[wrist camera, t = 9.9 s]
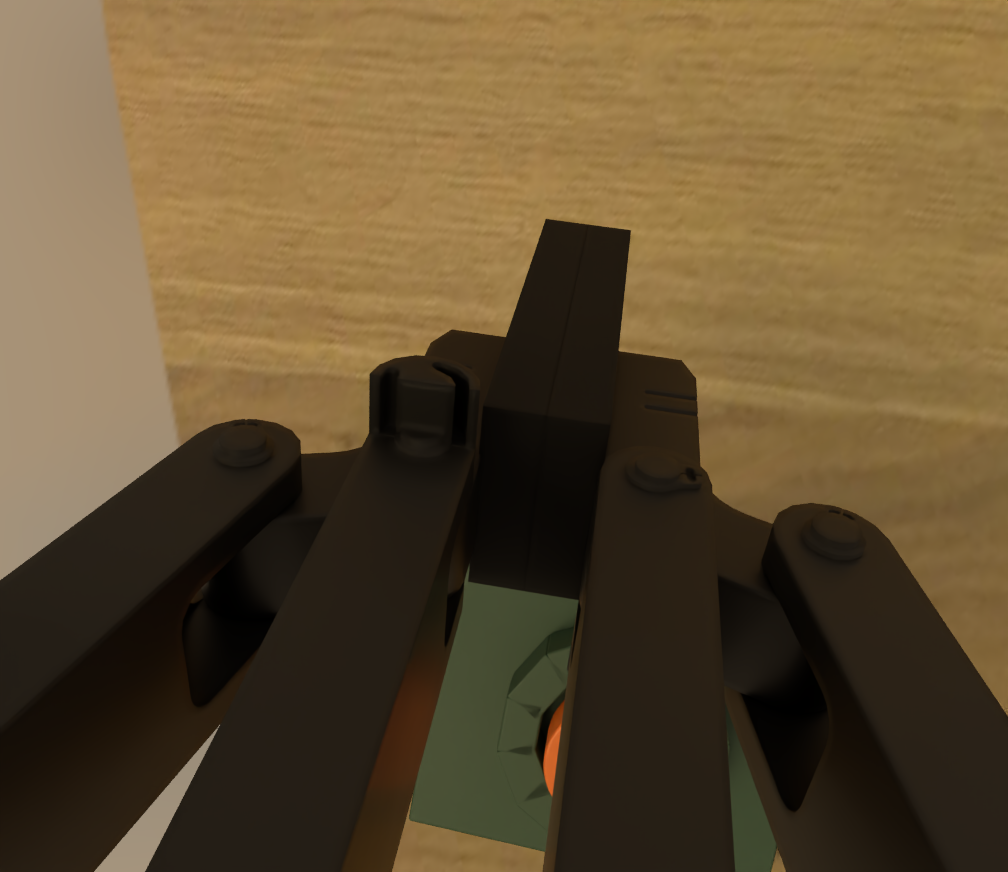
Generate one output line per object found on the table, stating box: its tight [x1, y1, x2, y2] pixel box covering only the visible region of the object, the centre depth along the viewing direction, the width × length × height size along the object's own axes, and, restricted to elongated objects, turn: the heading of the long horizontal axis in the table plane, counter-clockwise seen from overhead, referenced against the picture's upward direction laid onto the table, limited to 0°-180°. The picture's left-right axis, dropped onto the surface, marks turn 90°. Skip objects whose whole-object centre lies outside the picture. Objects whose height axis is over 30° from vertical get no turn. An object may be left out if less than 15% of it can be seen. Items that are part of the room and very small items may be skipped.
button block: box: [409, 563, 777, 872], centre depth 30 cm, size 12×10×4 cm
